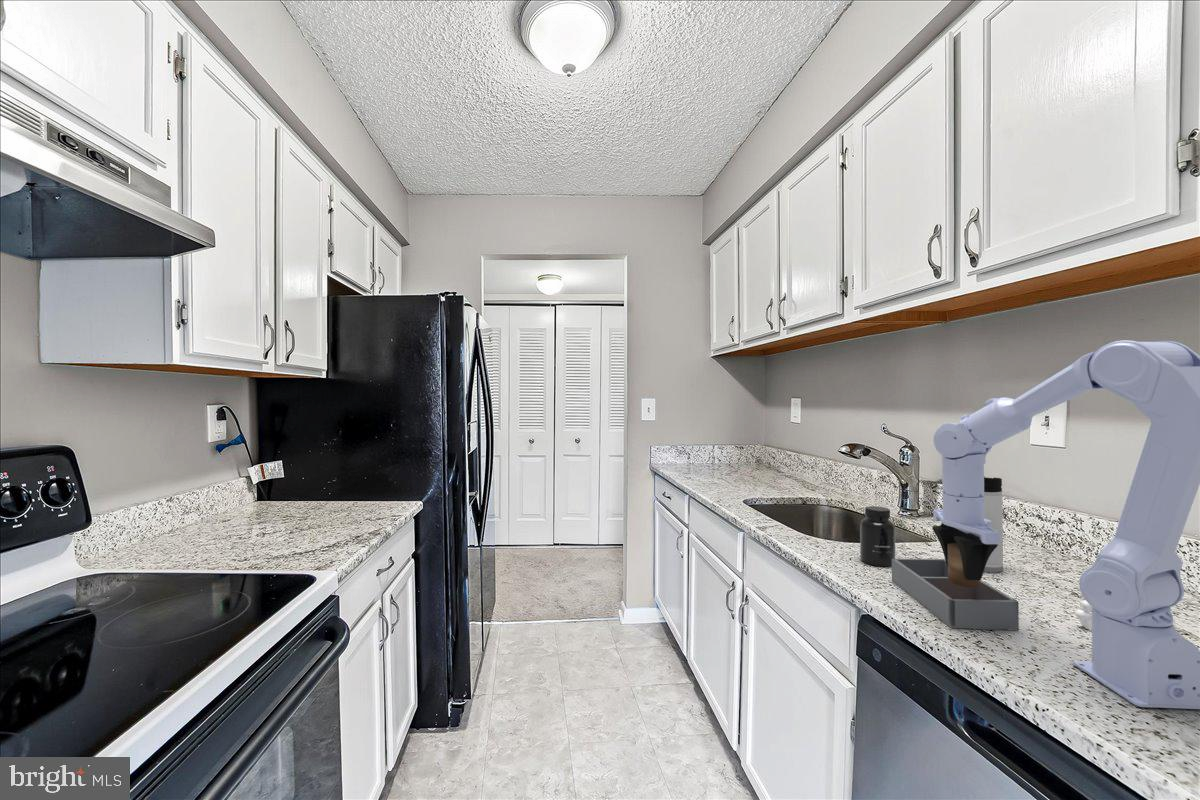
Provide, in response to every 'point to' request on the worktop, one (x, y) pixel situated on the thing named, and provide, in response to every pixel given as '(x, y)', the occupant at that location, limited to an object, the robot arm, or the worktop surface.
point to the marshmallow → (1085, 614)
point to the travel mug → (994, 520)
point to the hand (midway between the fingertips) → (963, 573)
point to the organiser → (955, 596)
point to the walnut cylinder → (958, 568)
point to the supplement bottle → (877, 537)
